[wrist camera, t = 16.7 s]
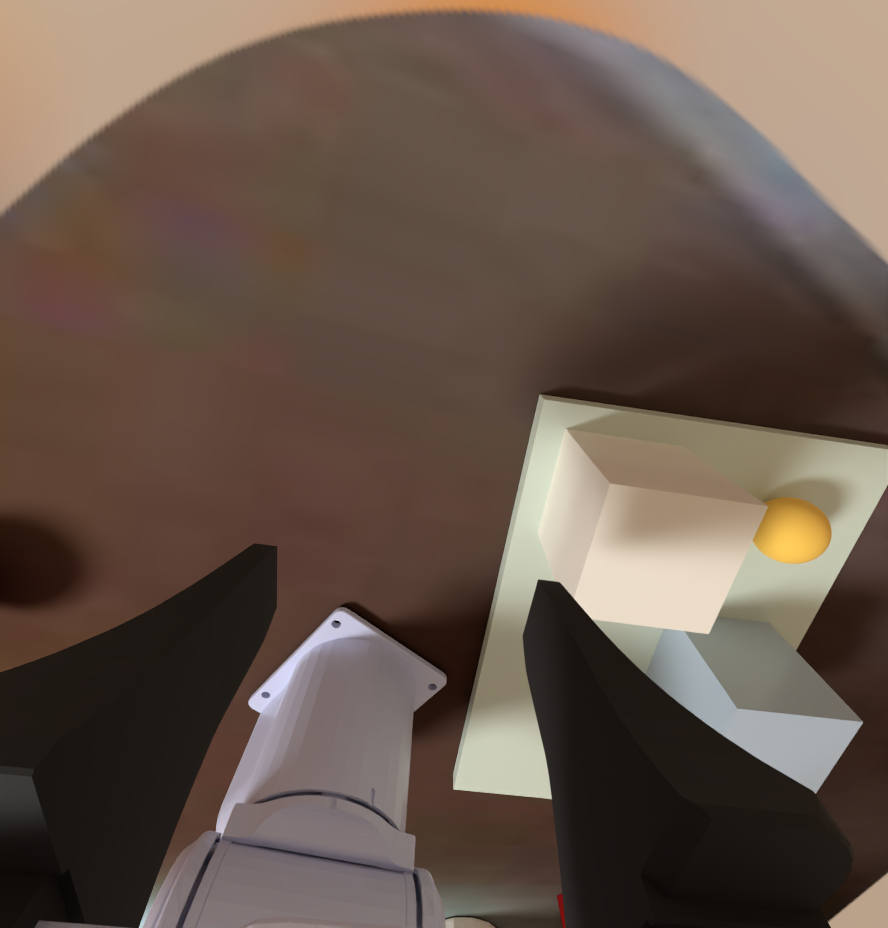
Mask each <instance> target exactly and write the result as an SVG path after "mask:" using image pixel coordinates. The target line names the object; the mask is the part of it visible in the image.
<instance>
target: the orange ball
mask: <svg viewBox="0 0 888 928" xmlns="http://www.w3.org/2000/svg"><path fill="white" fill-rule="evenodd" d="M764 504H766V505H767V506H768V508H767V510H766V513H765V515H764V517H763V519H762V521H761V523H760V526H759V528H758V530H757V532H756V534H755V536H754V538H753V543H754V544H755V546H756V547H757V548H758V549H759V550H760V551H761V552H762V553H763V554H765V555H766V556H768V557H769V558H771V559H773V560H776V561H779V562H782V563H788V564H800V563H805V562H809V561H812V560H814V559H816V558H817V557H819V556H820V555H821V554H823V553H824V552H825V550H826V549H827V548H828V546H829V544H830V541H831V537H832V531H831V525H830V523H829V520H828V518H827V517H826V515H825V514H824V513H823V512H822V511H821V510H820V509H819V508H818V507H816V506H815V505H813V504H812V503H810V502H808V501H805V500H802V499H799V498H792V497H781V498H776V499H772V500H769V501H767V502H765V503H764Z"/></svg>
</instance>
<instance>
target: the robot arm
mask: <svg viewBox="0 0 888 928" xmlns="http://www.w3.org/2000/svg"><path fill="white" fill-rule="evenodd" d="M276 607H277V546H270V545H262V544H253V545H251V546H250V547H248V548H247V549H245V550H244V551H242V552H241V553H240V554H238V555H237V556H235V557H234V558H232V559H231V560H229V561H228V562H226V563H225V564H223V565H222V566H220V567H219V568H218V569H216V570H215V571H213V572H211V573H210V574H208V575H207V576H205V577H204V578H202V579H201V580H199V581H198V582H196V583H195V584H193V585H191V586H190V587H188V588H186V589H185V590H183V591H181V592H180V593H178V594H176V595H175V596H173V597H171V598H170V599H168V600H166V601H165V602H163V603H161V604H160V605H158V606H156V607H154V608H152V609H151V610H149V611H147V612H145V613H143V614H141V615H139V616H137V617H135V618H133V619H131V620H129V621H127V622H125V623H123V624H121V625H119V626H117V627H115V628H113V629H111V630H109V631H106V632H104V633H102V634H99V635H97V636H95V637H92V638H90V639H88V640H85V641H83V642H81V643H78V644H76V645H74V646H71V647H69V648H67V649H64V650H62V651H59V652H57V653H54V654H51V655H49V656H46V657H43V658H41V659H38V660H35V661H33V662H30V663H27V664H24V665H21V666H18V667H15V668H12V669H9V670H7V671H4V672H1V673H0V928H139V925H140V922H141V920H142V917H143V914H144V911H145V908H146V906H147V903H148V900H149V897H150V895H151V892H152V889H153V886H154V884H155V881H156V878H157V875H158V873H159V870H160V868H161V865H162V862H163V860H164V857H165V855H166V852H167V849H168V847H169V844H170V841H171V839H172V836H173V834H174V831H175V828H176V826H177V823H178V821H179V818H180V816H181V813H182V811H183V808H184V806H185V803H186V801H187V798H188V796H189V793H190V791H191V788H192V786H193V783H194V781H195V779H196V776H197V774H198V771H199V769H200V767H201V764H202V762H203V760H204V757H205V755H206V752H207V750H208V748H209V745H210V743H211V741H212V738H213V736H214V734H215V732H216V730H217V728H218V726H219V724H220V722H221V720H222V718H223V716H224V714H225V712H226V710H227V708H228V707H229V705H230V703H231V701H232V699H233V697H234V695H235V694H236V692H237V690H238V688H239V686H240V684H241V682H242V681H243V679H244V677H245V675H246V673H247V671H248V669H249V668H250V666H251V664H252V662H253V660H254V658H255V656H256V654H257V653H258V651H259V649H260V647H261V645H262V643H263V641H264V639H265V636H266V634H267V631H268V629H269V626H270V623H271V621H272V618H273V615H274V613H275V610H276ZM335 620H337V621H339V622H340V623H336V622H334V621H335ZM523 647H524V658H525V667H526V674H527V678H528V683H529V687H530V692H531V696H532V700H533V705H534V709H535V713H536V718H537V722H538V726H539V730H540V735H541V739H542V743H543V748H544V752H545V757H546V762H547V768H548V774H549V781H550V788H551V796H552V803H553V811H554V819H555V828H556V836H557V845H558V854H559V863H560V873H561V884H562V894H563V904H564V915H565V927H566V928H831V927H830V925H829V924H828V922H827V920H826V918H825V917H824V915H823V913H822V912H821V910H820V909H821V908H822V906H823V905H824V904H825V903H826V902H827V901H828V899H829V898H830V897H831V896H832V895H833V894H834V892H835V891H836V890H837V889H838V888H839V887H840V885H841V884H842V883H843V882H844V881H845V879H846V877H847V876H848V874H849V872H850V871H851V867H852V861H853V855H854V853H853V850H852V847H851V845H850V842H849V841H848V839H847V838H846V837H845V835H844V834H843V832H842V831H841V829H840V828H839V827H838V825H837V824H836V822H835V821H834V819H833V818H832V817H831V815H830V814H829V812H828V811H827V809H826V808H825V807H824V805H823V804H822V802H821V801H820V799H819V798H818V797H817V795H816V794H815V793H814V791H812V790H810V789H809V788H807V787H805V786H804V785H802V784H800V783H799V782H797V781H795V780H793V779H792V778H790V777H788V776H787V775H785V774H783V773H782V772H780V771H778V770H776V769H775V768H773V767H771V766H770V765H768V764H766V763H764V762H763V761H761V760H760V759H758V758H756V757H755V756H753V755H752V754H750V753H749V752H747V751H746V750H744V749H743V748H741V747H740V746H738V745H736V744H735V743H733V742H732V741H730V740H729V739H727V738H726V737H724V736H723V735H722V734H720V733H719V732H717V731H716V730H714V729H713V728H712V727H710V726H709V725H707V724H706V723H705V722H703V721H702V720H701V719H699V718H698V717H697V716H695V715H694V714H693V713H691V712H690V711H689V710H688V709H686V708H685V707H684V706H682V705H681V704H680V703H678V702H677V701H676V700H675V699H674V698H672V697H671V696H670V695H669V694H667V693H666V692H665V691H664V690H663V689H662V688H660V687H659V686H658V685H657V684H656V683H655V682H654V681H652V680H651V679H650V678H649V677H648V676H647V675H646V674H644V673H643V672H642V671H641V670H640V669H639V668H638V667H637V666H636V665H635V664H634V663H633V662H632V661H631V660H630V659H629V658H628V657H627V656H626V655H625V654H624V653H623V652H622V651H621V650H620V649H619V648H618V647H617V646H616V645H615V644H614V643H613V642H612V641H611V640H610V639H609V638H608V637H607V636H606V634H605V633H604V632H603V631H602V630H601V629H600V628H599V627H598V626H597V624H596V623H595V622H594V621H593V620H592V619H591V618H590V617H589V615H588V614H587V613H586V612H585V611H584V610H583V608H582V607H581V606H580V605H579V604H578V603H577V601H576V600H575V599H574V598H573V597H572V595H571V594H570V593H569V592H568V591H567V590H566V589H565V587H564V586H563V585H562V584H561V583H560V582H556V581H548V580H540V579H538V581H537V585H536V589H535V592H534V596H533V600H532V603H531V607H530V610H529V614H528V618H527V621H526V625H525V629H524V632H523ZM446 682H447V677H446V675H445V674H444V673H443V672H442V671H440V670H439V669H437V668H436V667H434V666H433V665H431V664H430V663H428V662H427V661H425V660H424V659H422V658H421V657H419V656H418V655H416V654H415V653H413V652H412V651H410V650H409V649H407V648H406V647H404V646H403V645H401V644H400V643H398V642H397V641H396V640H394V639H393V638H391V637H390V636H388V635H387V634H385V633H384V632H382V631H381V630H379V629H378V628H376V627H375V626H373V625H372V624H370V623H369V622H367V621H366V620H364V619H363V618H361V617H360V616H358V615H357V614H355V613H354V612H352V611H351V610H349V609H347V608H345V607H340V608H337V609H336V610H335V611H334V612H333V613H332V614H331V615H330V616H329V617H328V618H327V619H326V620H325V621H324V622H323V623H322V624H321V625H320V626H319V627H318V628H317V629H316V630H315V631H314V632H313V633H312V634H311V635H310V636H309V637H308V638H307V639H306V640H305V641H304V642H303V644H302V645H301V646H300V647H299V648H298V649H297V650H296V651H295V652H294V653H293V654H292V655H291V656H290V657H289V658H288V659H287V660H286V661H285V662H284V663H283V664H282V665H281V666H280V667H279V668H278V669H277V670H276V671H275V672H274V673H273V674H272V675H271V676H270V677H269V678H268V679H267V680H266V681H265V682H264V683H263V684H262V685H261V686H260V687H259V689H258V690H257V691H256V692H255V693H254V694H253V695H252V696H251V698H250V700H249V706H250V707H251V708H252V709H254V710H256V711H258V712H259V713H261V714H260V716H259V718H258V721H257V723H256V725H255V728H254V730H253V732H252V735H251V737H250V740H249V742H248V744H247V747H246V749H245V751H244V754H243V756H242V758H241V761H240V763H239V766H238V768H237V770H236V773H235V775H234V777H233V780H232V782H231V785H230V787H229V789H228V792H227V794H226V796H225V799H224V801H223V803H222V806H221V809H220V812H219V815H218V820H217V825H216V832H214V831H206V832H204V833H203V834H202V835H201V836H200V837H199V838H198V840H196V841H194V842H193V843H192V844H190V845H189V846H188V847H186V848H185V849H184V850H183V851H182V852H181V854H180V855H179V856H178V858H177V859H176V861H175V863H174V864H173V866H172V868H171V870H170V871H169V873H168V875H167V877H166V879H165V881H164V883H163V885H162V887H161V889H160V891H159V893H158V895H157V897H156V899H155V901H154V903H153V906H152V908H151V910H150V912H149V914H148V917H147V919H146V921H145V923H144V926H143V928H446V924H445V914H444V908H443V903H442V900H441V896H440V894H439V892H438V890H437V888H436V887H435V884H434V881H433V878H432V876H431V874H430V873H429V871H428V870H426V869H421V868H415V867H414V856H415V836H414V835H411V834H407V833H405V827H406V813H407V799H408V785H409V770H410V756H411V742H412V728H413V713H414V711H416V710H417V709H418V708H419V707H420V706H422V705H423V704H424V703H425V702H426V701H427V700H429V699H430V698H431V697H432V696H433V695H434V694H436V693H437V692H438V691H439V690H440V689H441V688H443V687H444V686H445V685H446ZM430 684H435V685H430ZM267 692H268V693H267Z"/></svg>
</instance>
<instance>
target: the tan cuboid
mask: <svg viewBox="0 0 888 928" xmlns="http://www.w3.org/2000/svg"><path fill="white" fill-rule="evenodd" d="M767 508H768V506H767V505H766V504H764V503H763V502H761V501H760V500H759V499H757V498H756V497H754V496H753V495H751V494H750V493H749V492H747V491H746V490H744V489H743V488H741V487H740V486H739V485H737V484H736V483H734V482H733V481H731V480H730V479H729V478H727V477H726V476H724V475H723V474H721V473H720V472H719V471H717V470H716V469H714V468H713V467H711V466H710V465H709V464H707V463H706V462H704V461H703V460H701V459H700V458H699V457H697V456H696V455H694V454H693V453H691V452H690V451H689V450H687V449H686V448H684V447H683V446H677V445H670V444H664V443H657V442H650V441H644V440H637V439H631V438H624V437H617V436H611V435H604V434H597V433H591V432H584V431H577V430H571V429H565V433H564V437H563V441H562V444H561V448H560V452H559V456H558V459H557V463H556V467H555V471H554V475H553V478H552V482H551V486H550V490H549V493H548V497H547V501H546V505H545V509H544V512H543V516H542V520H541V524H540V527H539V531H538V536H539V539H540V541H541V544H542V547H543V549H544V552H545V555H546V558H547V560H548V563H549V566H550V568H551V571H552V574H553V577H554V579H555V581H556V582H560V583H561V584H562V585H563V586H564V587H565V589H566V590H567V591H568V592H569V593H570V594H571V595H572V597H573V598H574V599H575V600H576V601H577V603H578V604H579V605H580V606H581V607H582V608H583V610H584V611H585V612H586V613H587V614H588V615H589V617H590V618H591V619H593V620H601V621H609V622H617V623H625V624H632V625H640V626H648V627H656V628H664V629H672V630H680V631H688V632H696V633H703V634H709V633H710V631H711V629H712V626H713V624H714V622H715V620H716V618H717V616H718V614H719V611H720V609H721V607H722V605H723V603H724V601H725V599H726V596H727V594H728V592H729V590H730V588H731V586H732V583H733V581H734V579H735V577H736V575H737V573H738V571H739V568H740V566H741V564H742V562H743V560H744V558H745V556H746V553H747V551H748V549H749V547H750V545H751V543H752V541H753V538H754V536H755V534H756V532H757V530H758V528H759V526H760V523H761V521H762V519H763V517H764V515H765V513H766V510H767Z"/></svg>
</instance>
